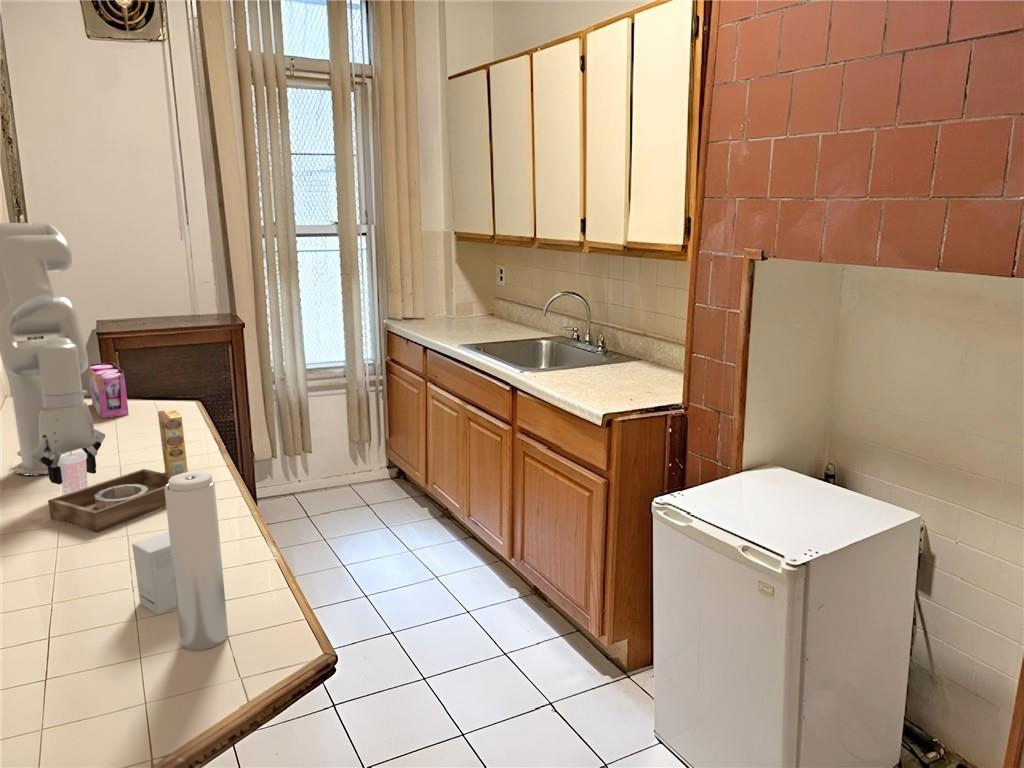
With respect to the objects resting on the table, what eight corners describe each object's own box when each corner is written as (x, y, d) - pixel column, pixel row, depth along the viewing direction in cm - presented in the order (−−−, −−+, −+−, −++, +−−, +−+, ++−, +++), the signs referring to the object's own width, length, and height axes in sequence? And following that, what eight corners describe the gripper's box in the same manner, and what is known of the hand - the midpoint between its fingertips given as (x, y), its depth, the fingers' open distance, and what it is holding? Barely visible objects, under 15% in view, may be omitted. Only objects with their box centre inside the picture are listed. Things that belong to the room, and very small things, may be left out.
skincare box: (199, 578, 128) (193, 521, 126) (219, 590, 124) (214, 531, 122) (137, 602, 120) (130, 541, 118) (156, 615, 116) (149, 553, 114)
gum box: (130, 416, 233) (125, 373, 230) (102, 420, 228) (96, 376, 225) (118, 401, 252) (113, 361, 249) (91, 404, 247) (86, 364, 244)
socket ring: (85, 507, 157) (84, 496, 157) (128, 492, 166) (127, 481, 166) (116, 515, 153) (115, 504, 152) (159, 499, 162) (157, 488, 161)
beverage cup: (69, 501, 163) (61, 439, 160) (54, 496, 166) (46, 435, 163) (97, 493, 168) (89, 433, 165) (82, 487, 171) (74, 429, 168)
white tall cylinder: (189, 627, 113) (173, 470, 107) (233, 625, 113) (219, 469, 108) (174, 652, 106) (156, 486, 101) (220, 649, 107) (205, 484, 102)
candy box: (189, 479, 177) (183, 416, 174) (169, 482, 175) (163, 419, 171) (182, 468, 184) (176, 408, 181) (163, 471, 182) (157, 410, 178)
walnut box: (50, 518, 153) (48, 500, 153) (145, 485, 173) (143, 468, 172) (97, 532, 147) (95, 513, 146) (190, 496, 166) (188, 479, 165)
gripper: (90, 390, 171) (99, 464, 175) (11, 406, 156) (23, 487, 160) (111, 393, 168) (120, 468, 172) (33, 411, 153) (45, 493, 157)
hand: (73, 477), depth 166 cm, fingers open, 7 cm apart
